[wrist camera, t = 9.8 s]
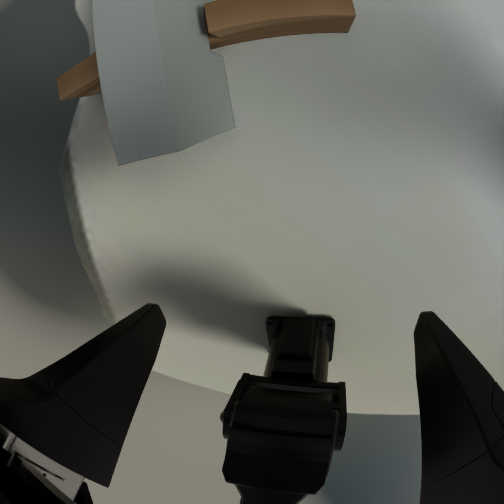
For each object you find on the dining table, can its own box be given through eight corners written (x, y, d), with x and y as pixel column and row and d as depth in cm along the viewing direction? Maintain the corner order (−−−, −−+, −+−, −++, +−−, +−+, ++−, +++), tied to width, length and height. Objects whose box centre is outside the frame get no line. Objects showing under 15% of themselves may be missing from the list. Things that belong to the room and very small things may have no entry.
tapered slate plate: (235, 127, 17) (179, 151, 10) (189, 135, 18) (118, 165, 11) (206, -37, 10) (147, -81, 3) (162, -21, 11) (93, -50, 4)
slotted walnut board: (347, 32, 12) (355, 15, 8) (94, 94, 17) (59, 101, 14) (342, 7, 11) (347, -15, 7) (90, 75, 16) (56, 79, 13)
